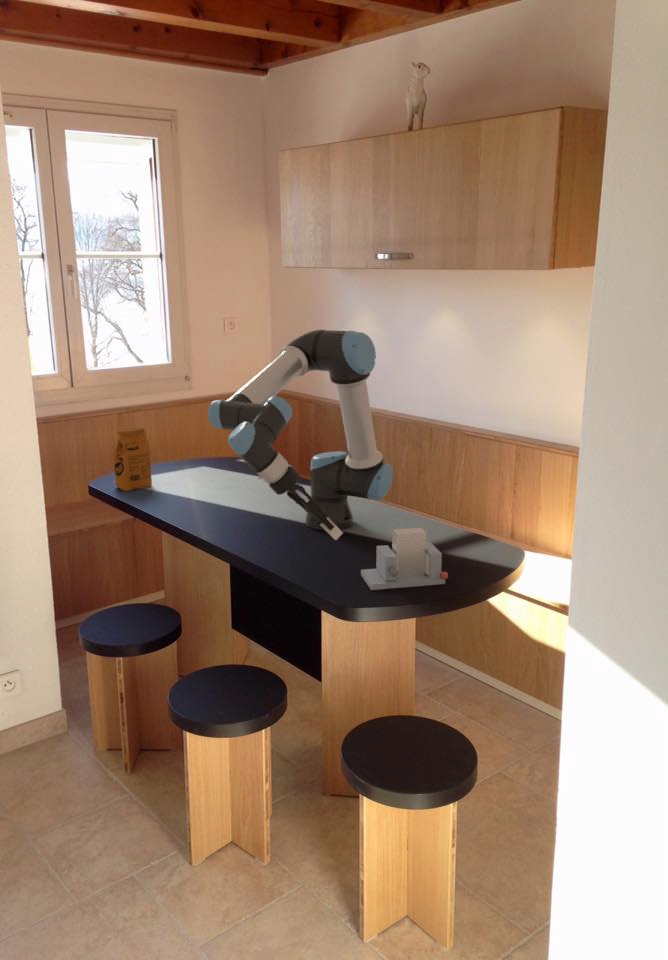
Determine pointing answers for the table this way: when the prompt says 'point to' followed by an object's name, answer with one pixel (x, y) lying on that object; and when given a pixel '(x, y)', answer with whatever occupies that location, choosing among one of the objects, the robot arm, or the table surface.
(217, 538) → the table surface
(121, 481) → the coffee package
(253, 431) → the robot arm
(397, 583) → the vise
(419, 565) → the steel block
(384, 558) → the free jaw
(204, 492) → the table surface
